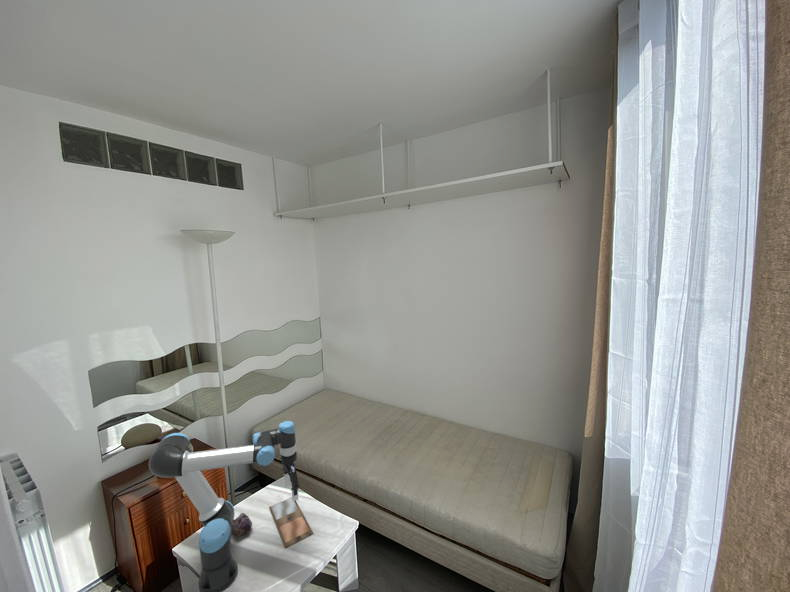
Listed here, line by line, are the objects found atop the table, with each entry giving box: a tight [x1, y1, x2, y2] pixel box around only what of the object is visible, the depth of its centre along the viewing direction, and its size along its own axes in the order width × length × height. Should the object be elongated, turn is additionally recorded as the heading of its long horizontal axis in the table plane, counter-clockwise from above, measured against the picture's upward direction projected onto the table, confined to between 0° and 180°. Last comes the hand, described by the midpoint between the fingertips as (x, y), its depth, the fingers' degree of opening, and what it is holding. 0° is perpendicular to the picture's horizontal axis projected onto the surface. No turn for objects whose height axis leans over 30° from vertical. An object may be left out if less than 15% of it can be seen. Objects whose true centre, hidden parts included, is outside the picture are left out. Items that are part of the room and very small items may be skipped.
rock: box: [232, 512, 253, 537], centre depth 165 cm, size 12×8×10 cm
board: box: [268, 497, 314, 549], centre depth 172 cm, size 14×33×1 cm, turn 34°
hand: (291, 492), depth 164 cm, fingers open, 13 cm apart
